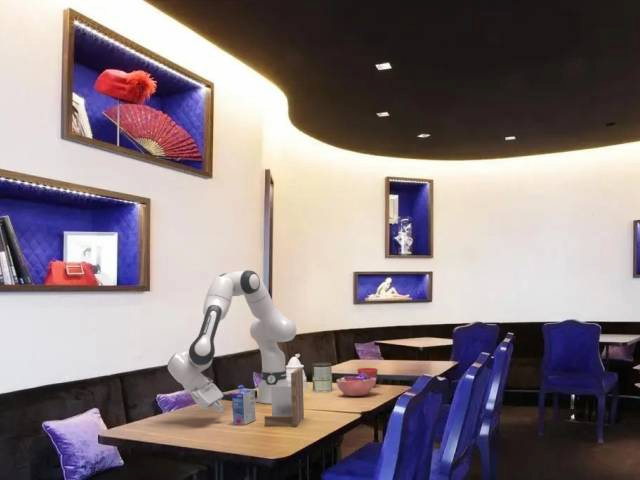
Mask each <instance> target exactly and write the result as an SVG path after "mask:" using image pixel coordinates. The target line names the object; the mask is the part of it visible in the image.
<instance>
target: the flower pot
mask: <svg viewBox="0 0 640 480" xmlns="http://www.w3.org/2000/svg"><path fill="white" fill-rule="evenodd" d="M360 372H364V373H365V374H366V375H367V377H373V378H376V379H377V377H378V376H377V375H378V368H375V367H363V368H357V376H359V373H360ZM376 385H377V381H376V382H375V384H374V386H373V388H372V389H374V388H376Z"/></svg>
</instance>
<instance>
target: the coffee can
mask: <svg viewBox="0 0 640 480" xmlns="http://www.w3.org/2000/svg"><path fill="white" fill-rule="evenodd" d="M332 365H333V364H332V363H331V362H315V363H312V364H311V367H312V368H311V370H312V392H313V393H317V392H324V393H330V391H331V392H333V376H332V375H333V373H332V372H333V371H332V370H333V369H332Z"/></svg>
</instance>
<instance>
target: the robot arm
mask: <svg viewBox="0 0 640 480" xmlns="http://www.w3.org/2000/svg"><path fill="white" fill-rule="evenodd" d="M239 296H244V299H245V301H246V303H247V305H248V307H249V310H250V313H251V314H252V316H253V317H255V318H256V319H257V320H254V321H253V322H252V323H251V324H250V328H249V333H250V336H251V338H252V339H253V340H254V341H255V342H256V344H257V346H258V349H259V351H260V354H261V355H260V356H261V368H262V369H261V373H260V375H261V381H260V382H259V383H258V386H257V387H258V390H257V397H256V398H255V403H261V404H271V405H272V398H271V387H279V386H289V383H288V381H287V379H286V378H287V373H286V355H285V353H284V352H283V351H282V350H281V349H280V347H279V345H278V343H286V342H289V341H293V339H295V337H296V335H297V326H296V324H295V322H294V321H293V320H291V319H289V318H288V317H286V316H285V314H283V313H282V312H281V311H280V310H279V309H278V307H277V306H276V305H275V303H274V301H273V300H272V297H271V295H270V293H269V291H268V289H267V286H266V285H265V283H264V281H263V280H262V278H261V277H260V276H259V275H258V274H257V272H255V271H253V270H235V271H232V272H228V273H226V272H225V273H222V274H220V275H219V276H217V277H215V278H214V279H213V281H212V282H211V284H210V286H209V288H208V291H207V294H206V296H205V299H204V304H203V308H202V309H203V310H202V312H203V313H202V314H203V317H204V318H203V320H202V324H201V327H200V330H199V334H198V336H197V337H196V338H195V340H194V341H192V343H191V344H190V346H189V349H188V350H185V351H181V352H179V351H177V352H176V353H174V354H173V355H172V356H171V358H170V359H169V360H168V363H167V370H168V372H169V373H170V374H171V376H172V377H173V378H174V380H175V381H177V383H178V384H180V385H182V386H183V388H184V390H185V391H186V392H187V393H188V394H189V395H190V396H191V398H192V399H193V400H194V401H195V403H196V404H197V406H199V408H200V409H202V410H206V409H208V408H212V409H213V410H216V411H217V413H219V414H221V413H222V412H223V411H225V407H224V406H223V405H222V404H221V399H222V398H223V394H222V393H223V391H221V390H220V388H218V387H217V385H216V384H215V383H213V379H211V378H210V377H207V376H205V375H204V374H203V373H202V372H204V371H205V370H206V369H208V368H209V367H210V366H211V365H212V363H213V358H214V357H215V354H216V348H215V336H216V334H217V330H218V327H219V324H220V322H221V321H222V320H224V319H225V318H226V316H227V315H228V312H229V309H230V307H231V304H232V300H233V297H239Z"/></svg>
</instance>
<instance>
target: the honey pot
mask: <svg viewBox="0 0 640 480" xmlns="http://www.w3.org/2000/svg"><path fill="white" fill-rule="evenodd" d="M300 356H301V354H300V353H296V354H295V356H292V357H291V358H290V359H289V361H288V363H287V365H285V370H286V373H287V378H286V379H287V381H288V383H289V386H291V373H292V372H294V371H295V370H297V369H298V368H303V369H304V367H305V365H303V364H302V363H301V361H300V360H299V359H298V358H300ZM307 381H308V380H307V376H306V374H305V371H304V370H303V388H304V389H307V388H308V387H307V386H308V385H307V384H308V383H307ZM306 387H307V388H306Z"/></svg>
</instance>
